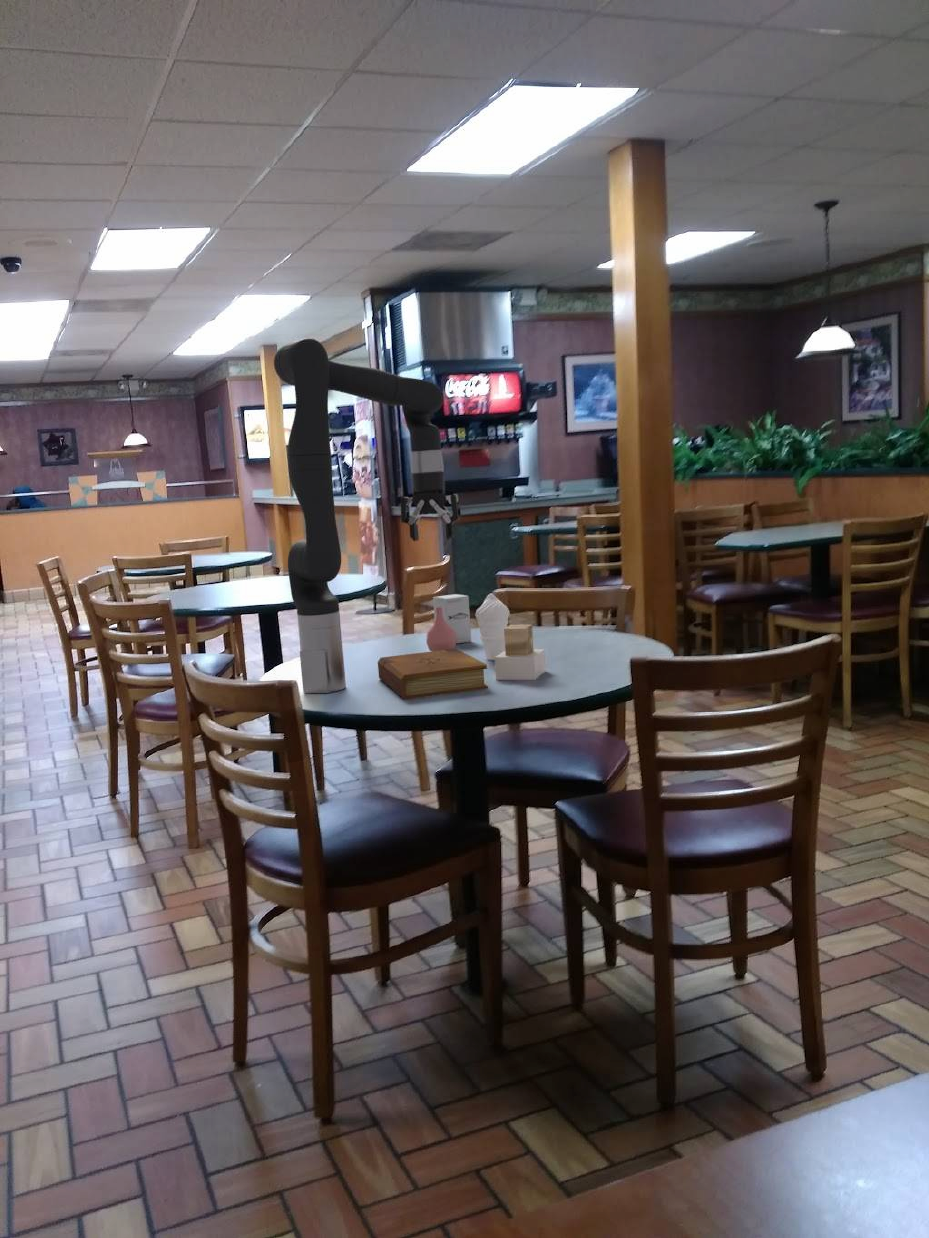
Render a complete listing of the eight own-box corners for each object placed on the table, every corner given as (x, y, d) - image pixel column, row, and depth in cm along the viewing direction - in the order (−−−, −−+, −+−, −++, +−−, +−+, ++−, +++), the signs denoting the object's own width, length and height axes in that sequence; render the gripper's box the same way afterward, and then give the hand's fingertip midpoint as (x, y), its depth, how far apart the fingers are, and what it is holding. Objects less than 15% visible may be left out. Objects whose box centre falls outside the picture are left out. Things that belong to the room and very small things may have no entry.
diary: (379, 682, 233) (377, 657, 232) (457, 672, 238) (455, 648, 238) (402, 701, 211) (400, 674, 211) (488, 690, 217) (486, 663, 216)
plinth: (535, 679, 221) (534, 657, 221) (496, 679, 224) (494, 657, 224) (546, 671, 230) (544, 649, 229) (507, 671, 233) (506, 649, 232)
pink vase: (459, 650, 263) (455, 604, 261) (455, 656, 256) (452, 608, 254) (429, 652, 264) (426, 606, 262) (425, 657, 256) (421, 610, 255)
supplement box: (448, 645, 272) (444, 598, 270) (435, 642, 278) (432, 596, 276) (472, 641, 275) (469, 595, 273) (459, 638, 282) (455, 593, 280)
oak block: (527, 655, 223) (525, 628, 222) (505, 655, 225) (503, 628, 224) (533, 651, 228) (532, 624, 227) (512, 651, 230) (510, 624, 229)
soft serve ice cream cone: (512, 660, 245) (508, 594, 242) (478, 662, 245) (473, 596, 242) (512, 654, 253) (508, 590, 250) (478, 656, 253) (474, 592, 251)
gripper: (393, 473, 237) (398, 542, 239) (450, 469, 232) (455, 540, 235) (405, 472, 244) (410, 539, 246) (461, 468, 239) (466, 537, 242)
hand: (432, 540), depth 241 cm, fingers open, 8 cm apart
